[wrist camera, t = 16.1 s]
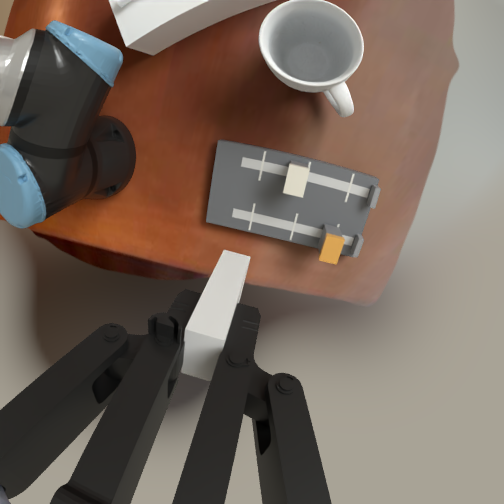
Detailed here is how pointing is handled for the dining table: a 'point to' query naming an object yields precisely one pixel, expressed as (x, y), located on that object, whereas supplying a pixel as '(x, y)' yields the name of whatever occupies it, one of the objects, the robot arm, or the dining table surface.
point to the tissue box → (171, 19)
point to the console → (288, 196)
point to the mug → (313, 49)
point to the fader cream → (296, 179)
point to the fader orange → (330, 244)
